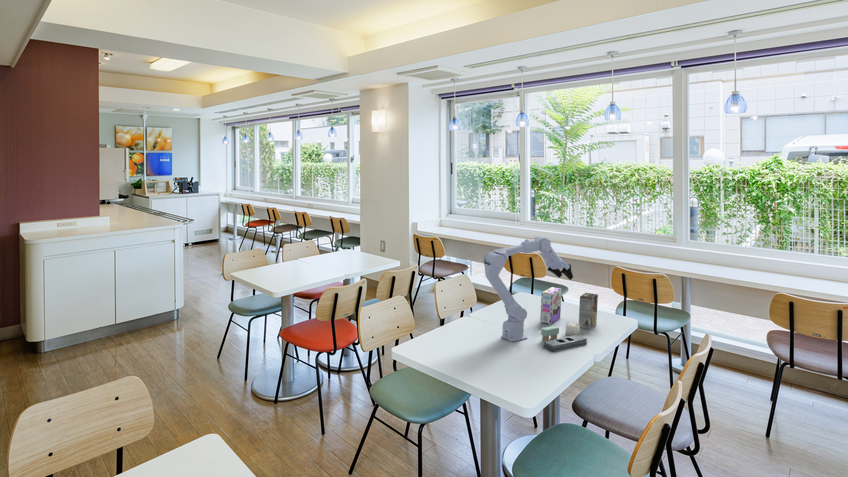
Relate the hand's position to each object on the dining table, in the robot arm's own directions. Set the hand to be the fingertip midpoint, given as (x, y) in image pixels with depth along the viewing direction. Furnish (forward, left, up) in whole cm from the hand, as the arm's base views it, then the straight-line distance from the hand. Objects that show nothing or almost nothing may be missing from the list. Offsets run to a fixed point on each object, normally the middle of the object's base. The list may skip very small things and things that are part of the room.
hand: (566, 277), depth 224 cm
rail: (-13, -15, -27) cm, 33 cm away
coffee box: (+16, 0, -27) cm, 32 cm away
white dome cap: (0, -6, -27) cm, 28 cm away
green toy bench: (-15, -7, -27) cm, 32 cm away
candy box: (+5, +15, -27) cm, 32 cm away
